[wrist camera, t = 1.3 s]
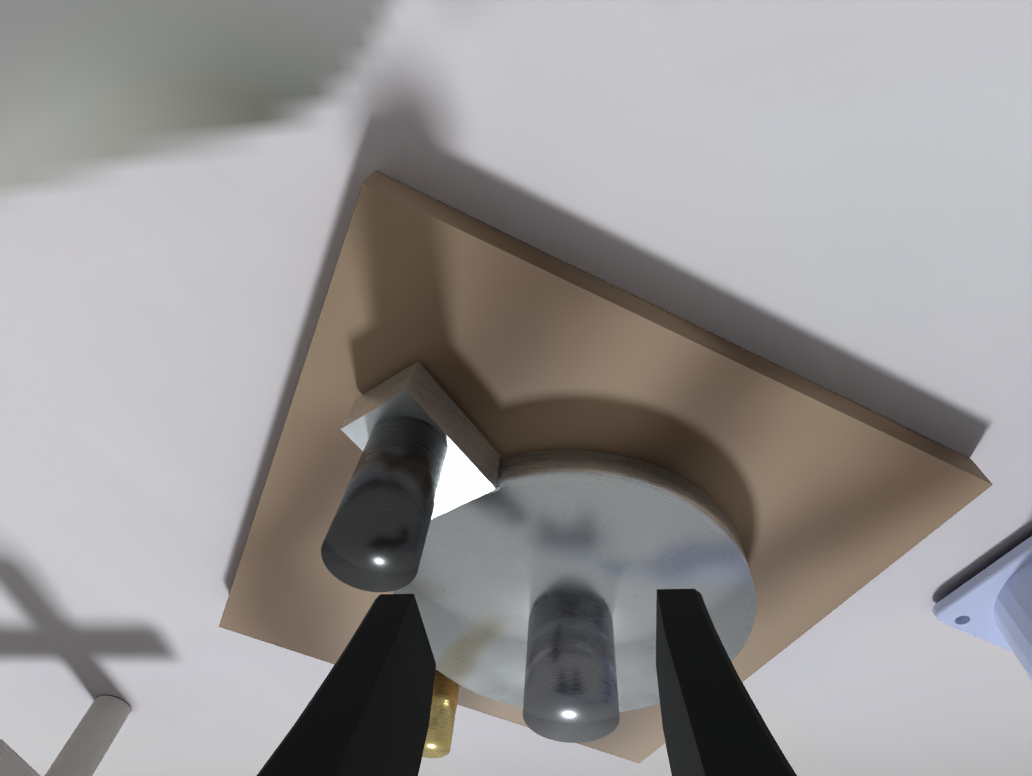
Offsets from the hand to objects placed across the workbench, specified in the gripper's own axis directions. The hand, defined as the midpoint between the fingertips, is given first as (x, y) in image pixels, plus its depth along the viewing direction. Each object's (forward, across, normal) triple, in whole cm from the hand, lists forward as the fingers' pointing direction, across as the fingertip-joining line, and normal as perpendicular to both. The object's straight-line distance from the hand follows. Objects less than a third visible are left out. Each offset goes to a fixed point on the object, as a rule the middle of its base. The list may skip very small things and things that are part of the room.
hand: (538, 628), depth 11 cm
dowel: (+8, +6, +14) cm, 17 cm away
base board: (+9, 0, +8) cm, 13 cm away
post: (+6, 0, +9) cm, 11 cm away
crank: (+8, +1, +7) cm, 11 cm away
